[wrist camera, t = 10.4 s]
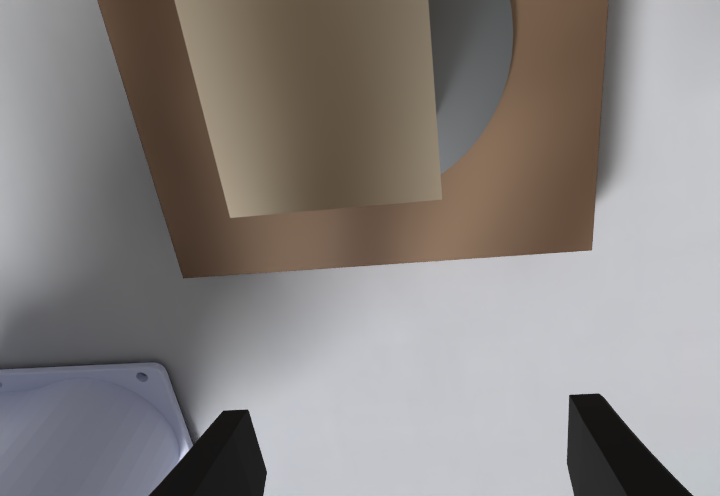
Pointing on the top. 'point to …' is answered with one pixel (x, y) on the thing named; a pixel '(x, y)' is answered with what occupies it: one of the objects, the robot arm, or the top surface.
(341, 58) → the maple block
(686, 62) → the top surface
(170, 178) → the walnut base
